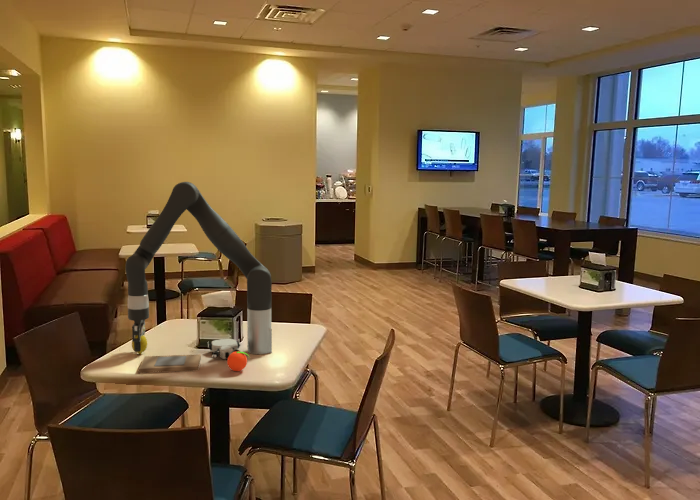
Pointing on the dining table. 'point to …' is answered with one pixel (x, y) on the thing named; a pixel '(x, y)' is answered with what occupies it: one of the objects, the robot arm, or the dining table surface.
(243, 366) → the clementine
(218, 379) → the dining table surface
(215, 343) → the robot toy
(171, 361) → the serving board
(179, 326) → the dining table surface
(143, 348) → the lemon
